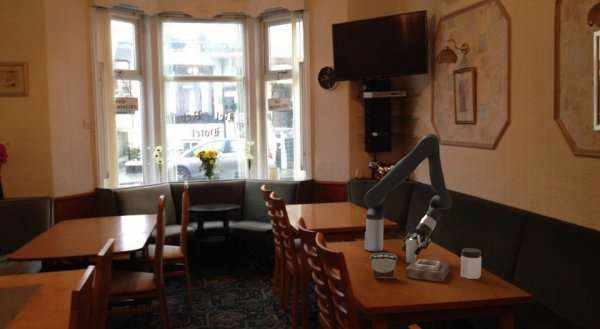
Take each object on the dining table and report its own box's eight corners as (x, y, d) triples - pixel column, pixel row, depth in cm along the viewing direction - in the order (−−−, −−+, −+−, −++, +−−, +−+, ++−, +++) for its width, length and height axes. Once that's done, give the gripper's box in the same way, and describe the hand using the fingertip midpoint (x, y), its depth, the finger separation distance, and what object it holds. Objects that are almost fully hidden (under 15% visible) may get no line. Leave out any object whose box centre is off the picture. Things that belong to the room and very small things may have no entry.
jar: (484, 277, 228) (485, 251, 227) (471, 280, 224) (471, 253, 223) (470, 272, 236) (470, 246, 235) (456, 274, 232) (457, 248, 231)
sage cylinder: (404, 262, 253) (405, 240, 252) (407, 260, 257) (407, 238, 256) (414, 263, 251) (415, 241, 250) (417, 261, 255) (417, 239, 254)
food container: (396, 274, 234) (396, 252, 233) (397, 278, 228) (397, 256, 227) (369, 273, 235) (369, 252, 234) (369, 277, 229) (369, 255, 228)
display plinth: (405, 277, 229) (406, 265, 228) (414, 268, 243) (414, 256, 243) (442, 282, 222) (442, 269, 221) (448, 272, 236) (448, 260, 236)
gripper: (411, 220, 262) (395, 245, 257) (433, 224, 251) (416, 251, 245) (418, 229, 266) (402, 253, 260) (440, 233, 254) (423, 260, 249)
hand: (409, 252), depth 253 cm, fingers open, 8 cm apart
